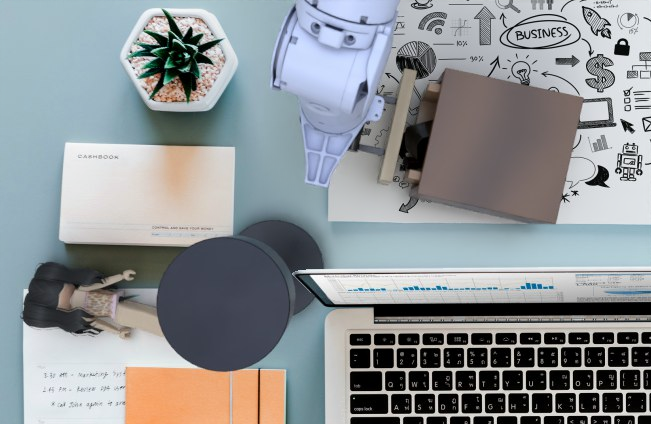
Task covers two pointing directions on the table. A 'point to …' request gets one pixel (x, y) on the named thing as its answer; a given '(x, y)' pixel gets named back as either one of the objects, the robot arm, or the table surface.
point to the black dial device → (416, 145)
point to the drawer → (401, 127)
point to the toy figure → (84, 302)
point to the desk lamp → (235, 294)
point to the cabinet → (499, 148)
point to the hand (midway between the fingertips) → (337, 117)
